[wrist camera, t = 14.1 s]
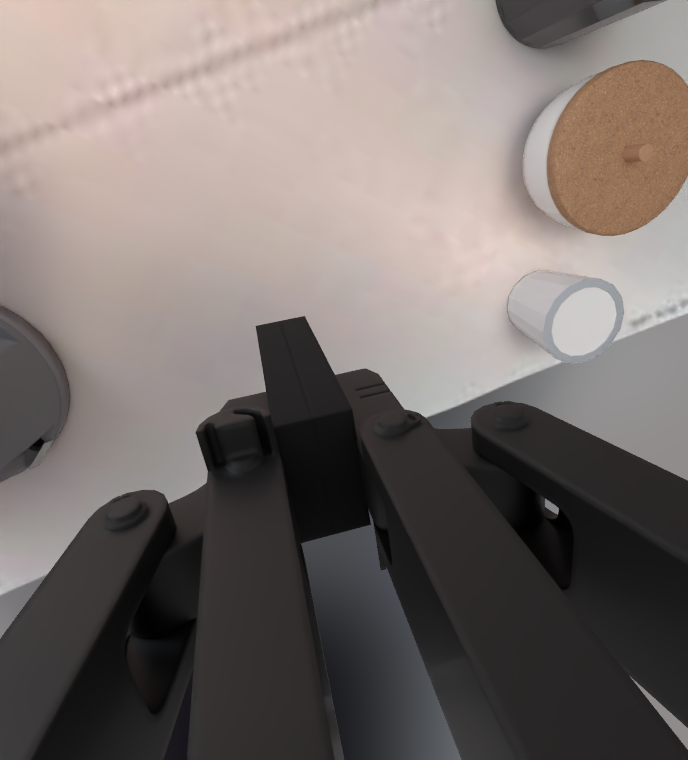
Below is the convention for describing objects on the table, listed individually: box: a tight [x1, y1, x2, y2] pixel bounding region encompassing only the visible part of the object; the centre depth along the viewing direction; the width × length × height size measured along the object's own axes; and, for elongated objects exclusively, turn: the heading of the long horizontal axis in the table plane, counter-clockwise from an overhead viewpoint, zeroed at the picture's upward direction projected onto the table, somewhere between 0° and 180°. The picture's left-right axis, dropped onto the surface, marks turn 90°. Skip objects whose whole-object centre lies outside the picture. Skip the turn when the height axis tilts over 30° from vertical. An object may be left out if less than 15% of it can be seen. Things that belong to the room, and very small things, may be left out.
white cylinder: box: [507, 271, 624, 363], centre depth 41 cm, size 7×7×7 cm
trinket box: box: [523, 60, 688, 236], centre depth 36 cm, size 11×11×9 cm
